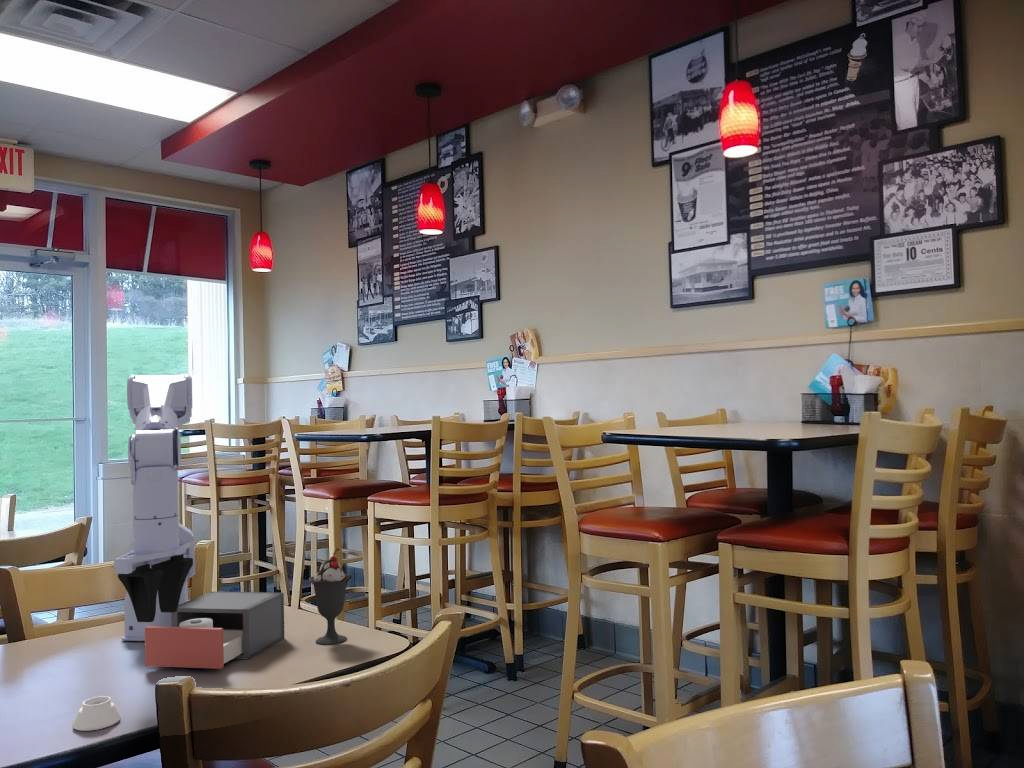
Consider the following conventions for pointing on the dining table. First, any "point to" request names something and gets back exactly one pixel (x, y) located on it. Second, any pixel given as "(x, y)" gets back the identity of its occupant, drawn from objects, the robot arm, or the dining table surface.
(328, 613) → the sundae
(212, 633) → the red drawer
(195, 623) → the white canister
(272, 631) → the housing
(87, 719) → the white jar
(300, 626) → the dining table surface
